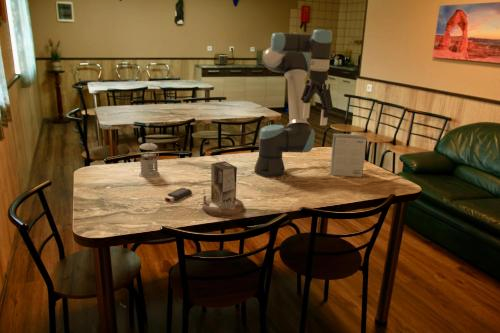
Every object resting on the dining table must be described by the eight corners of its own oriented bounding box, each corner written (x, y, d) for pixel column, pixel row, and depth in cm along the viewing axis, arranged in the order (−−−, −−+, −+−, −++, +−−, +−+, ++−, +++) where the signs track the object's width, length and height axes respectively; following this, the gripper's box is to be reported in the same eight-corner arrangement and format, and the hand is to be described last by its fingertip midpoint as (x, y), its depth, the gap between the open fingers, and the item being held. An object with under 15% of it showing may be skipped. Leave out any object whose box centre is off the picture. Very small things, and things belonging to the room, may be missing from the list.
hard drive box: (359, 172, 208) (365, 134, 202) (362, 177, 201) (367, 138, 195) (329, 170, 210) (333, 132, 203) (330, 175, 202) (334, 136, 196)
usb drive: (191, 194, 173) (191, 188, 172) (172, 204, 163) (172, 197, 162) (182, 192, 175) (182, 186, 174) (163, 200, 165) (162, 194, 164)
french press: (134, 175, 190) (131, 123, 182) (149, 168, 201) (147, 118, 193) (152, 179, 187) (150, 126, 179) (166, 171, 197) (164, 121, 189)
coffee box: (236, 206, 158) (237, 167, 153) (222, 209, 154) (222, 169, 149) (224, 198, 165) (225, 160, 160) (210, 201, 161) (210, 162, 156)
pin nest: (207, 198, 168) (207, 188, 167) (245, 201, 167) (245, 191, 165) (198, 215, 153) (198, 204, 152) (240, 218, 152) (241, 207, 150)
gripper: (295, 66, 173) (291, 115, 180) (329, 73, 152) (323, 128, 159) (310, 66, 176) (306, 114, 183) (345, 73, 155) (339, 127, 162)
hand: (314, 121), depth 171 cm, fingers open, 13 cm apart
